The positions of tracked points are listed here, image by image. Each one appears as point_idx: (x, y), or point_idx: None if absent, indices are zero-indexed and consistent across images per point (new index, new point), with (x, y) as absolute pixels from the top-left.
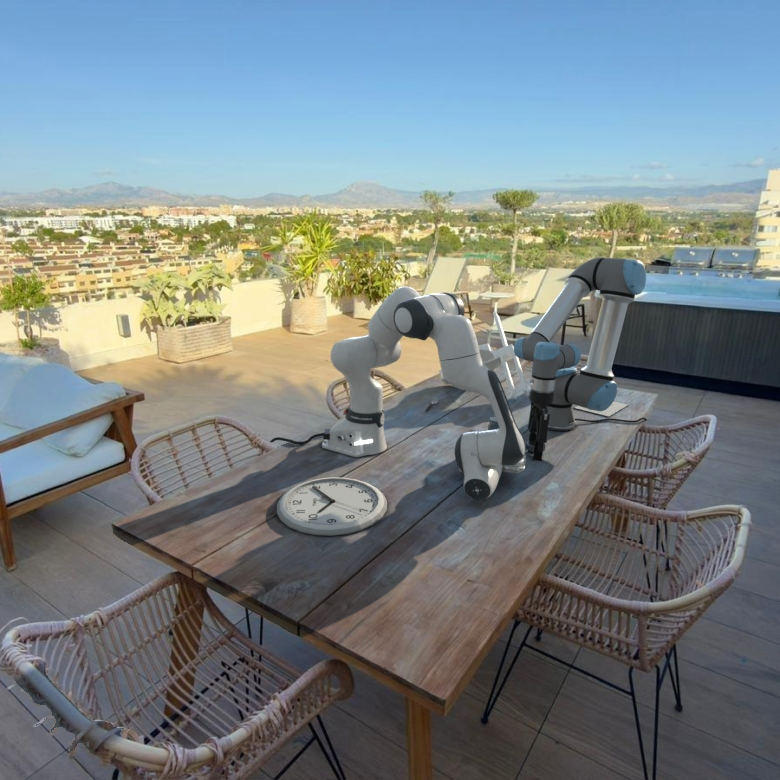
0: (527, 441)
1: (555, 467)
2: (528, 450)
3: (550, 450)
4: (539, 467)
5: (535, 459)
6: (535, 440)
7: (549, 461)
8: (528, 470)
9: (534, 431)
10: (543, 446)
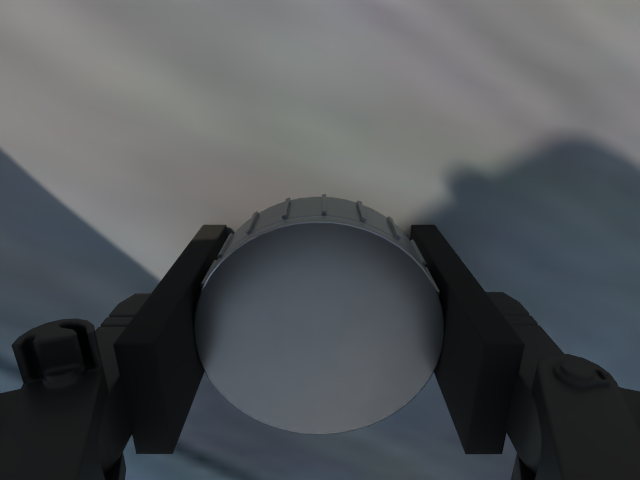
0: (257, 416)
1: (616, 129)
2: None
3: (156, 39)
4: (580, 283)
5: None
6: (204, 316)
7: (465, 149)
8: (614, 378)
9: (110, 422)
10: (422, 267)
